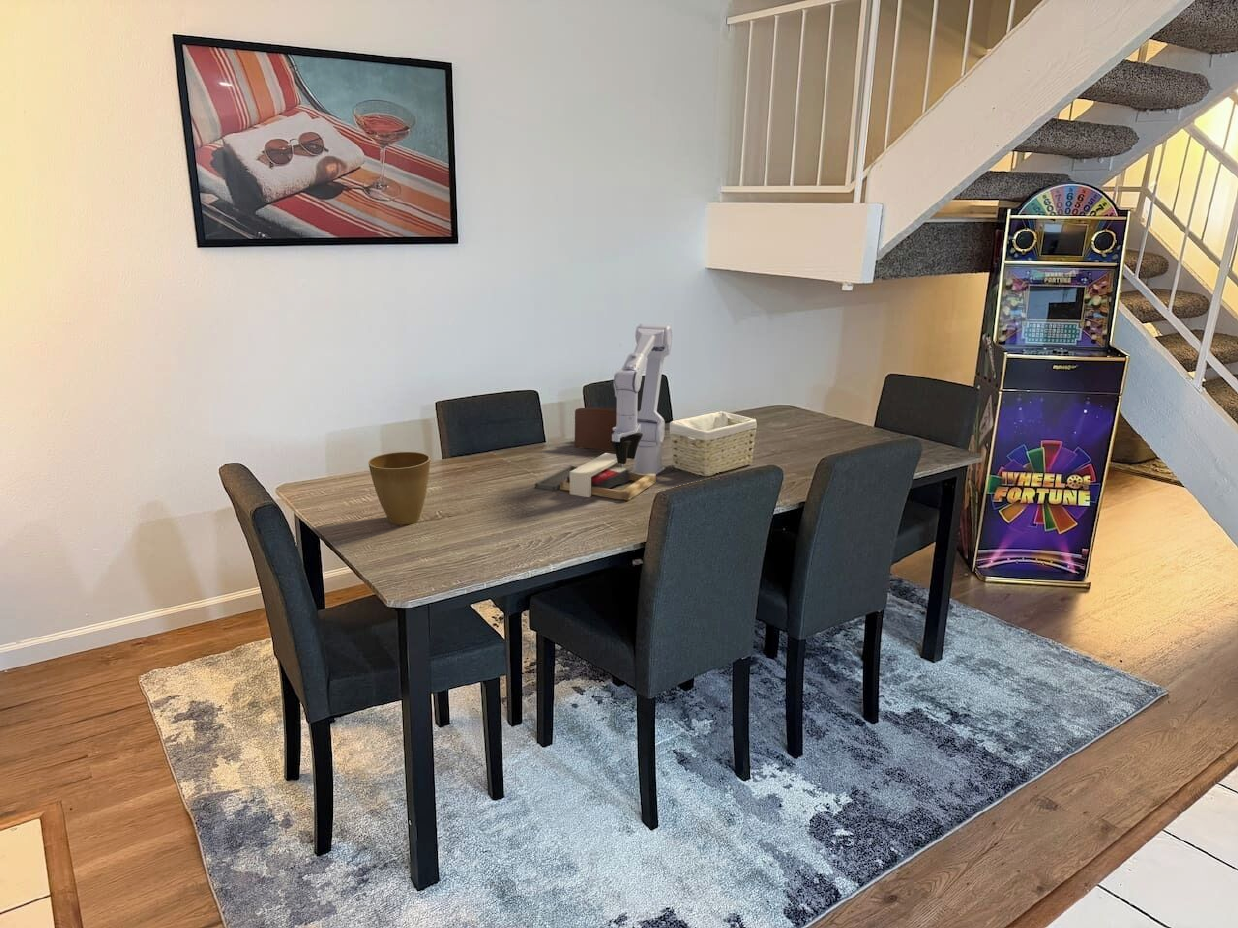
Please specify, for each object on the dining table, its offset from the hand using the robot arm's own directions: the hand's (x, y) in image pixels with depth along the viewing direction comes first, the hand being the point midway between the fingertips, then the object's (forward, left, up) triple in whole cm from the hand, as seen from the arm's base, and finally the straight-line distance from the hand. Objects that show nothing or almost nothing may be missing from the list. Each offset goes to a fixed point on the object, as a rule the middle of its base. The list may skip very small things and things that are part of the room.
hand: (626, 461), depth 245 cm
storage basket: (-34, +13, -9) cm, 37 cm away
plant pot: (+49, -39, -9) cm, 63 cm away
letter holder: (-40, -26, -9) cm, 48 cm away
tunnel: (0, -15, -8) cm, 17 cm away
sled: (0, -5, -8) cm, 10 cm away
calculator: (0, -9, -8) cm, 12 cm away
